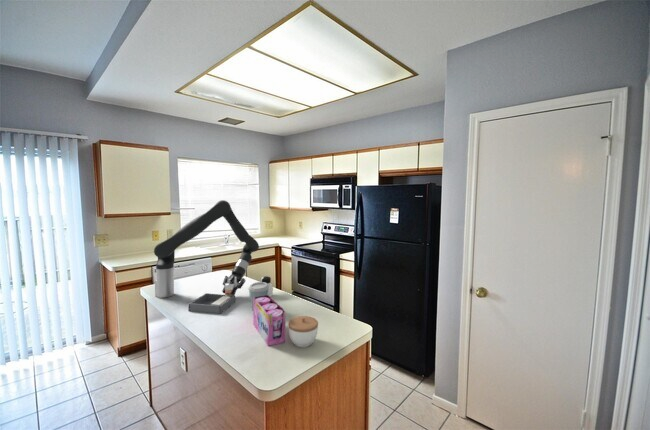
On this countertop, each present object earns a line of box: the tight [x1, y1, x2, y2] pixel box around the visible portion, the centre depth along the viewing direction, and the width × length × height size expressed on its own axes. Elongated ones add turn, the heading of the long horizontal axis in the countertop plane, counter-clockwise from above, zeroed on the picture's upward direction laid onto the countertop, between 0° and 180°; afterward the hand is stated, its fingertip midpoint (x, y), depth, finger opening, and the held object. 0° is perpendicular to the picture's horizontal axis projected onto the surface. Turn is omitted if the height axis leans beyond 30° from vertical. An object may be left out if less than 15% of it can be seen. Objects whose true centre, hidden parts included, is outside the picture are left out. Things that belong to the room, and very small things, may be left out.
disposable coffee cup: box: [248, 281, 269, 312], centre depth 148 cm, size 11×11×15 cm
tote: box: [188, 292, 236, 315], centre depth 151 cm, size 18×16×5 cm
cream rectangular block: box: [211, 296, 231, 306], centre depth 150 cm, size 5×12×4 cm, turn 171°
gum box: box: [252, 295, 286, 347], centre depth 125 cm, size 24×8×14 cm, turn 31°
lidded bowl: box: [288, 315, 319, 348], centre depth 117 cm, size 13×13×11 cm
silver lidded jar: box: [224, 282, 236, 297], centre depth 163 cm, size 6×6×10 cm
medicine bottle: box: [260, 275, 274, 298], centre depth 171 cm, size 7×7×12 cm
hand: (227, 293), depth 162 cm, fingers closed on silver lidded jar, 5 cm apart
